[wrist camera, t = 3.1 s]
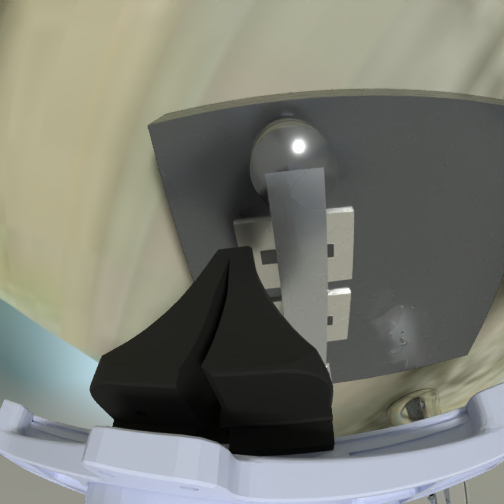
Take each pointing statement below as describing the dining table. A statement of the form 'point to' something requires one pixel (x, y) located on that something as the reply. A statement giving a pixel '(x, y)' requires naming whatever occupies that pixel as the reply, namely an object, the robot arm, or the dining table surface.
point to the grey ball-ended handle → (298, 218)
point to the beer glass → (417, 408)
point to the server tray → (360, 213)
